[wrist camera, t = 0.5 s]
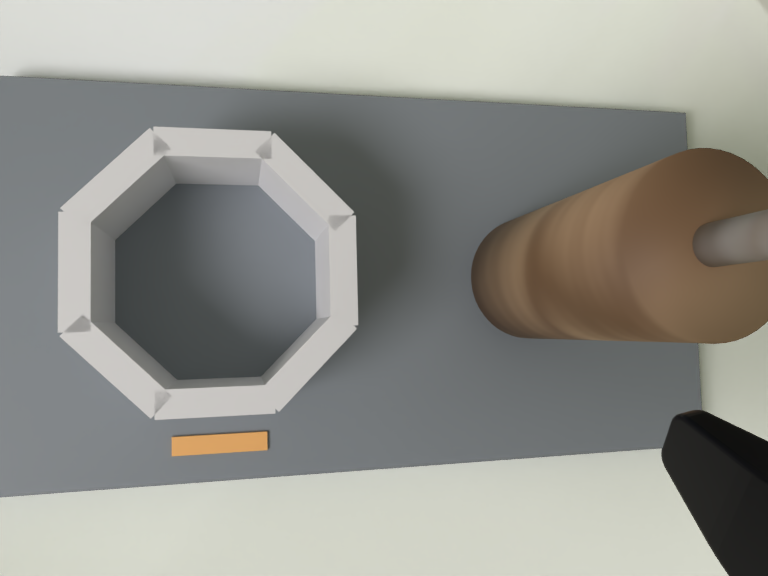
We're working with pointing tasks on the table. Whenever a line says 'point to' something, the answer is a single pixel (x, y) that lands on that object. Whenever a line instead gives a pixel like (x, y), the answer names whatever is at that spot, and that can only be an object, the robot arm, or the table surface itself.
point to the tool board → (294, 285)
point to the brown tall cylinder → (636, 257)
